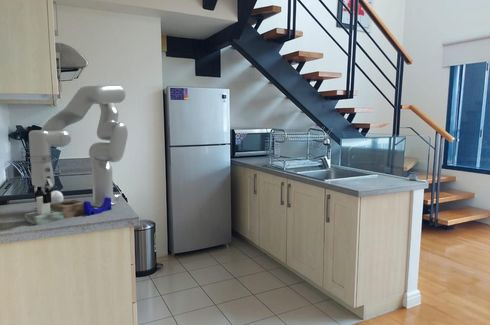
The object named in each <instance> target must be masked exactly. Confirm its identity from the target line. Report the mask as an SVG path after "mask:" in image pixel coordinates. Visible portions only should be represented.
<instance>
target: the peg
mask: <svg viewBox="0 0 490 325" xmlns="http://www.w3.org/2000/svg"><path fill="white" fill-rule="evenodd" d="M36 199H37V202H36V210H37V211H36V212H37V214H38V215H45V214H50V209H51V206H50V203H46V204H44V203H43V196H41V197H36Z"/></svg>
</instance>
